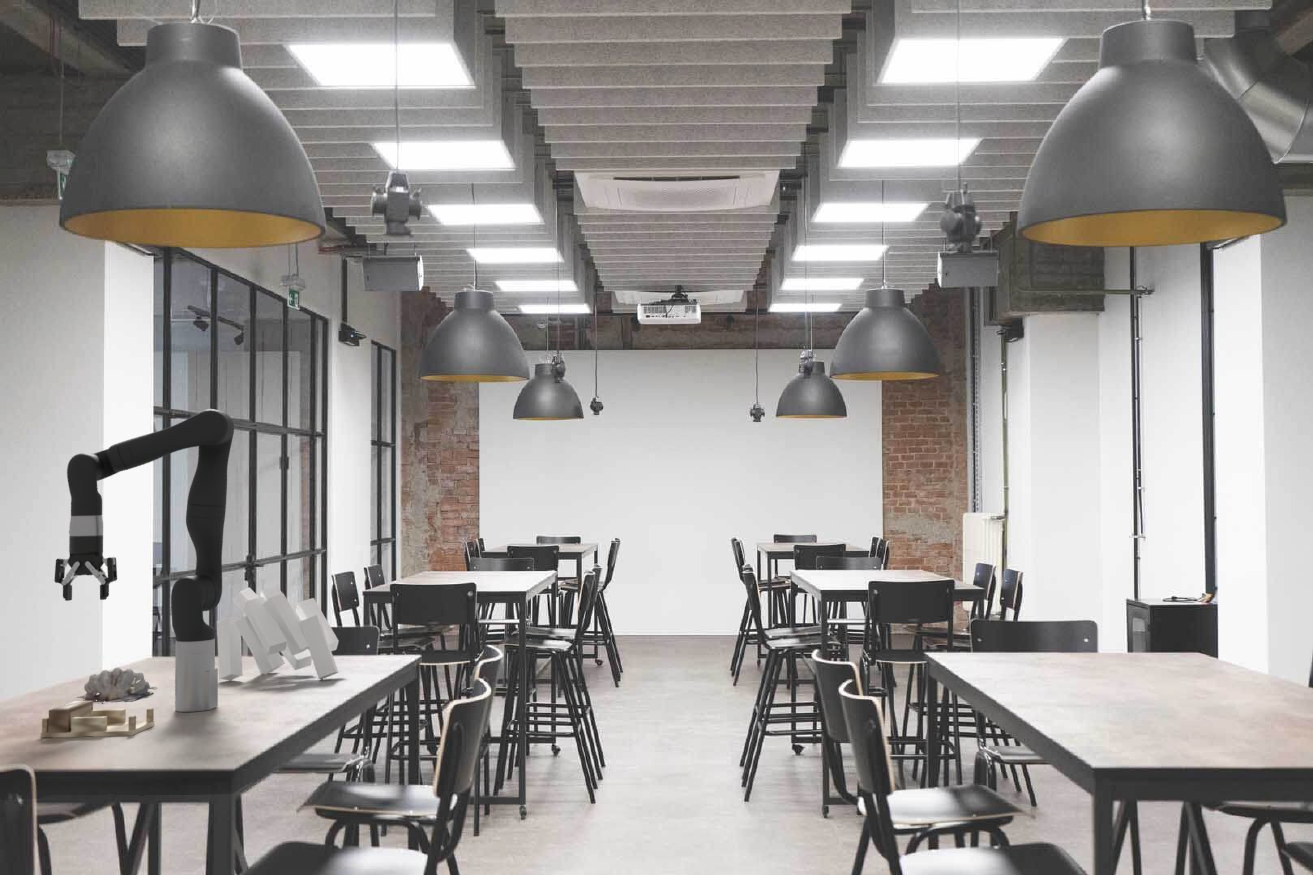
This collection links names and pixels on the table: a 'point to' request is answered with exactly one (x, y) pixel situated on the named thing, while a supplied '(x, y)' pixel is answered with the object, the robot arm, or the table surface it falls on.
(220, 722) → the table surface
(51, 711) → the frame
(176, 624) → the robot arm
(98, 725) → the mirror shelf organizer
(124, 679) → the grey rough lump
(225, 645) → the pile of blocks
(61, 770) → the table surface
